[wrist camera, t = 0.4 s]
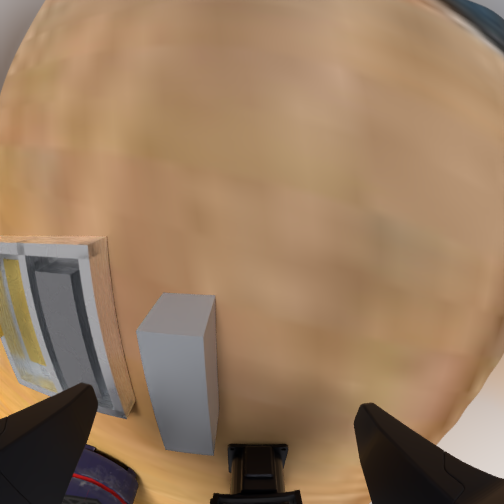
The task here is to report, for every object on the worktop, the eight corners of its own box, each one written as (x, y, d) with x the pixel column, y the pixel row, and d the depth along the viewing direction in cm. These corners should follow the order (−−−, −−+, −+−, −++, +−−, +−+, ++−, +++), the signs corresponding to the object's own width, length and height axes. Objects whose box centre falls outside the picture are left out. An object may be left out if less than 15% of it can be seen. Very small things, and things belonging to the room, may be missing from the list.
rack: (135, 400, 23) (124, 423, 20) (31, 370, 23) (16, 386, 20) (106, 236, 19) (83, 247, 16) (-4, 235, 19) (-27, 243, 16)
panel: (219, 407, 24) (213, 455, 18) (178, 403, 24) (165, 449, 18) (215, 294, 21) (203, 336, 15) (163, 291, 21) (136, 330, 15)
